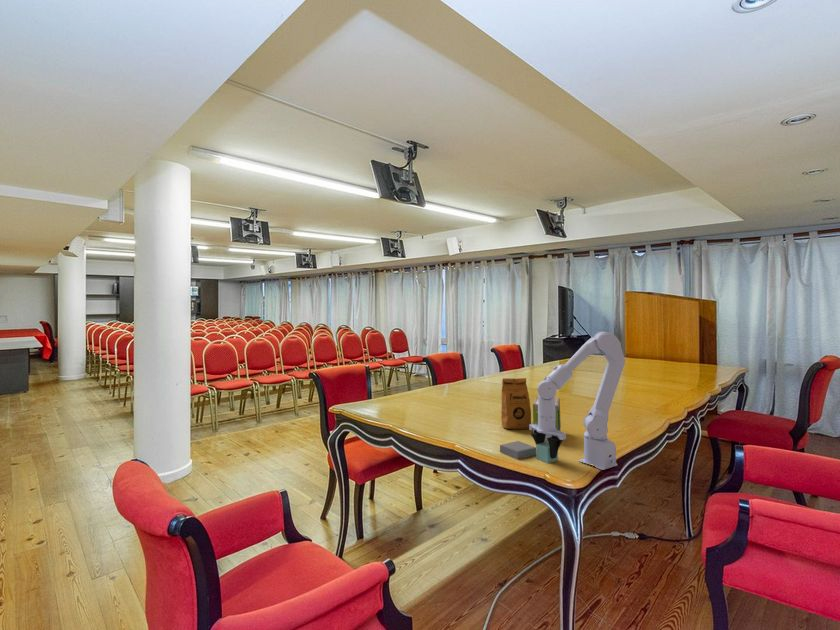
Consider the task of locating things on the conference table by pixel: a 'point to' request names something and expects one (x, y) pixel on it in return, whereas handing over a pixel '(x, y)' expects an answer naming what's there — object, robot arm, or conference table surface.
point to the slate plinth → (518, 450)
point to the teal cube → (544, 452)
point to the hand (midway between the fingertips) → (547, 455)
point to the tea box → (557, 414)
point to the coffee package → (515, 404)
